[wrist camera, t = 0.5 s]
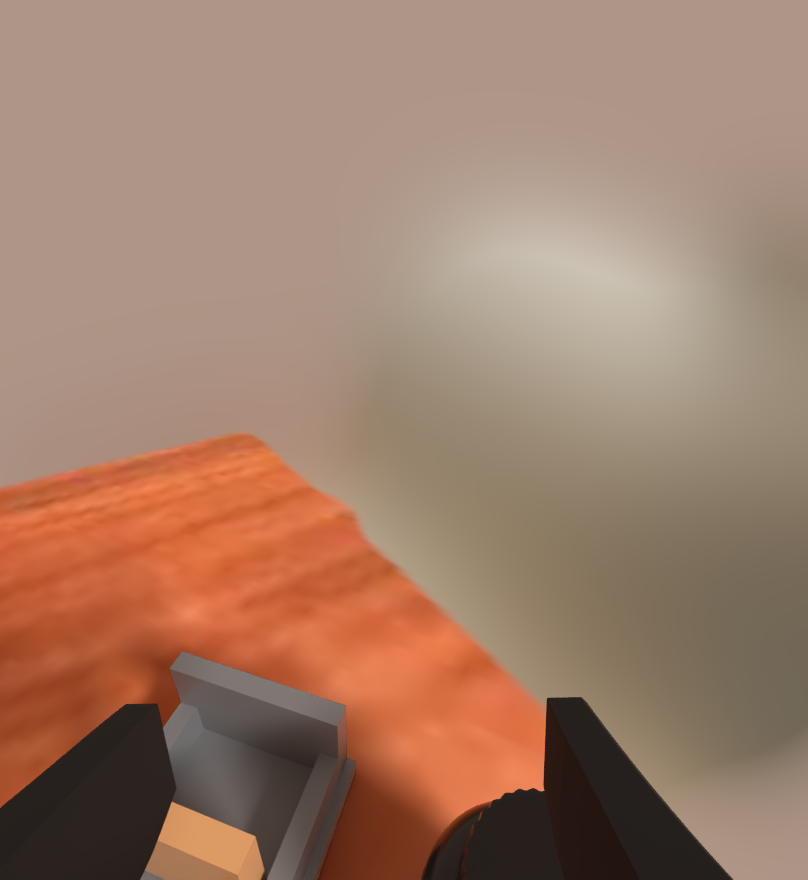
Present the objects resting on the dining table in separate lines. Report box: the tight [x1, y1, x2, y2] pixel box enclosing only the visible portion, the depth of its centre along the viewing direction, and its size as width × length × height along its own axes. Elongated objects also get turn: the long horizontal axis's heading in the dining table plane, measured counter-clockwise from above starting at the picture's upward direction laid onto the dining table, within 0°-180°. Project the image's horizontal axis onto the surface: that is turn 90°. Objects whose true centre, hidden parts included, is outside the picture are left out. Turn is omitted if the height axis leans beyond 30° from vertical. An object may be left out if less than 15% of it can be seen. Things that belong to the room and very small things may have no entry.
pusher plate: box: [145, 802, 267, 880], centre depth 20 cm, size 1×6×5 cm, turn 73°
